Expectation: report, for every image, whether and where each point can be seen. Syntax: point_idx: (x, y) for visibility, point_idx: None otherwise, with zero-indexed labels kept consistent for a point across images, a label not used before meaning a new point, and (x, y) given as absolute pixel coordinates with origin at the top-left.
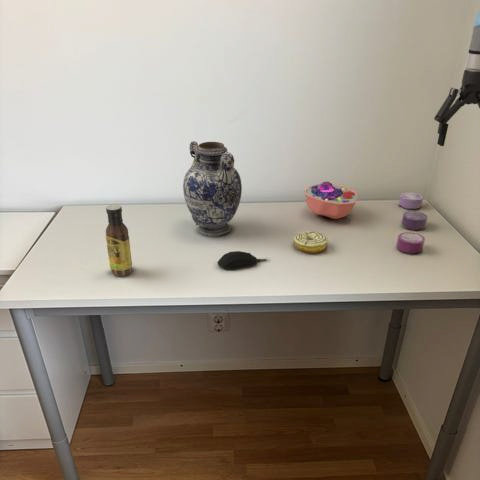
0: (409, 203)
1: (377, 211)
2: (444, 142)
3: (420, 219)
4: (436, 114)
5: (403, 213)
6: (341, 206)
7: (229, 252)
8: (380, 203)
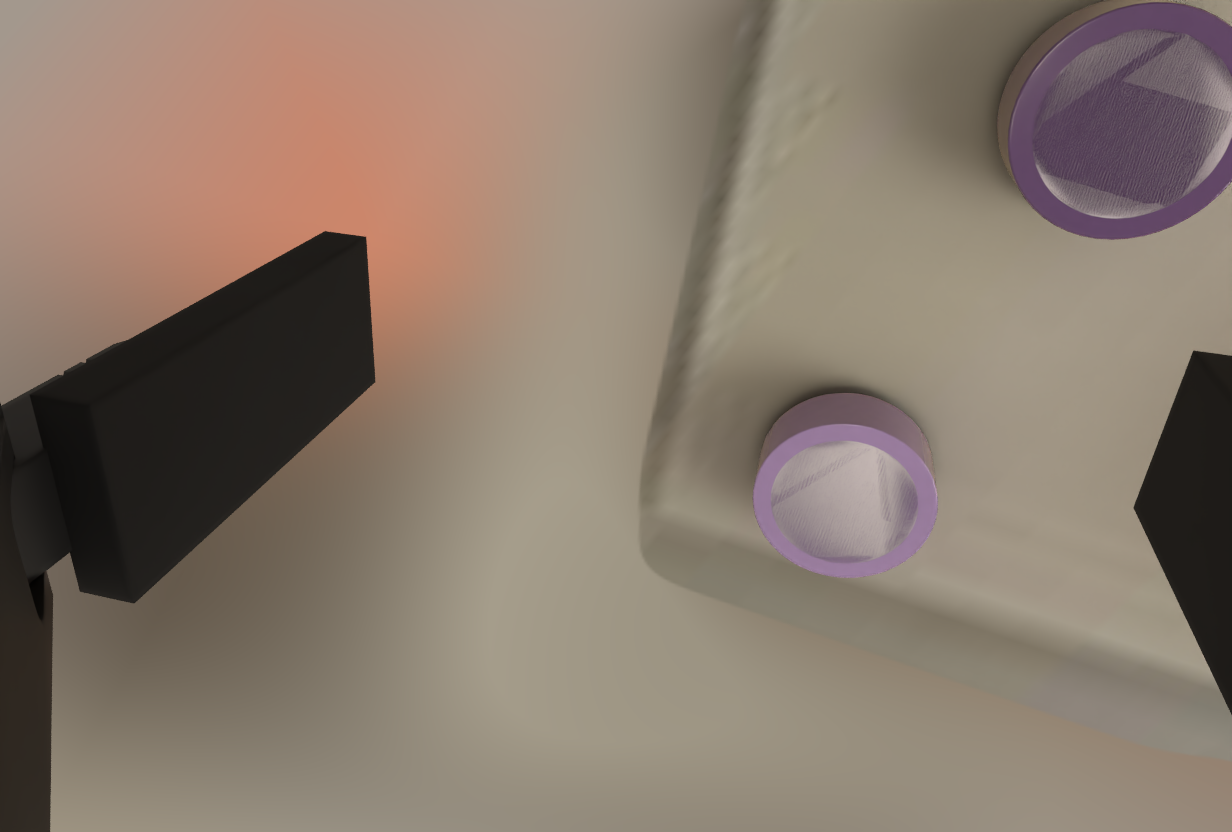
0: (908, 430)
1: None
2: (1218, 382)
3: (1161, 19)
4: None
5: (1206, 203)
6: None
7: None
8: (1022, 575)
